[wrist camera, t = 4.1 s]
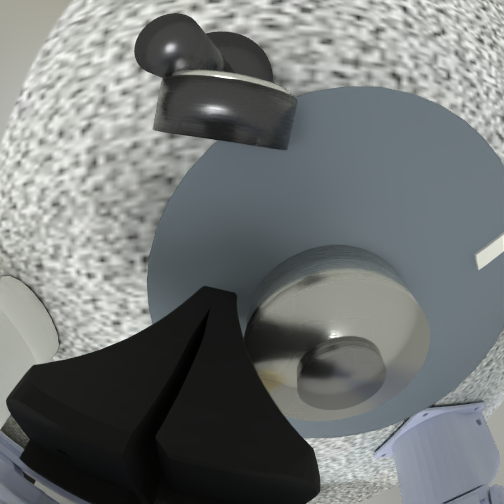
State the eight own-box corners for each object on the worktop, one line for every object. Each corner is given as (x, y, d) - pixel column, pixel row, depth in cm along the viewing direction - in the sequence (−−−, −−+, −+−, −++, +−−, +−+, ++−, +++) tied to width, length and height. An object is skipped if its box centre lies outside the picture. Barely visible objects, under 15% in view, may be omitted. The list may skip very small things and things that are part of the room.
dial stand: (303, 49, 9) (329, -34, 3) (282, 145, 11) (288, 159, 5) (181, 34, 9) (97, -30, 3) (161, 126, 11) (55, 131, 5)
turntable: (541, 183, 8) (604, 212, 4) (413, 421, 16) (428, 474, 11) (191, 50, 8) (128, 2, 4) (160, 390, 16) (134, 453, 11)
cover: (429, 264, 9) (471, 312, 6) (367, 381, 12) (381, 435, 9) (266, 226, 9) (260, 274, 6) (236, 363, 12) (225, 423, 9)
